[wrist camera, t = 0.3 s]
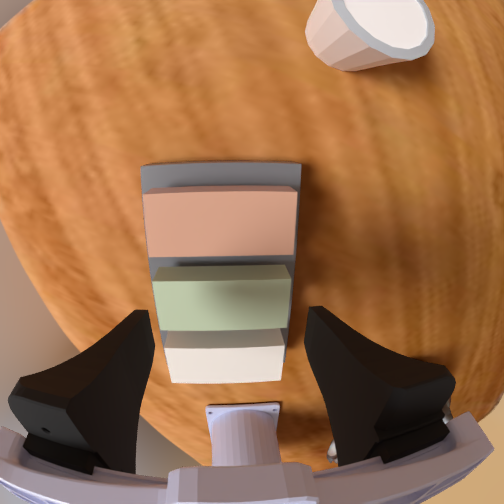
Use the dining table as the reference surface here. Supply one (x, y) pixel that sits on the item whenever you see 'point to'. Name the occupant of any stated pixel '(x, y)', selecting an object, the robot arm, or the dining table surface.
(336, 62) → the shot glass
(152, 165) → the button panel
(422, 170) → the dining table surface
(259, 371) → the off-white button
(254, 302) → the sage button
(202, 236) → the terracotta button
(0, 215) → the dining table surface
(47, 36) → the dining table surface
